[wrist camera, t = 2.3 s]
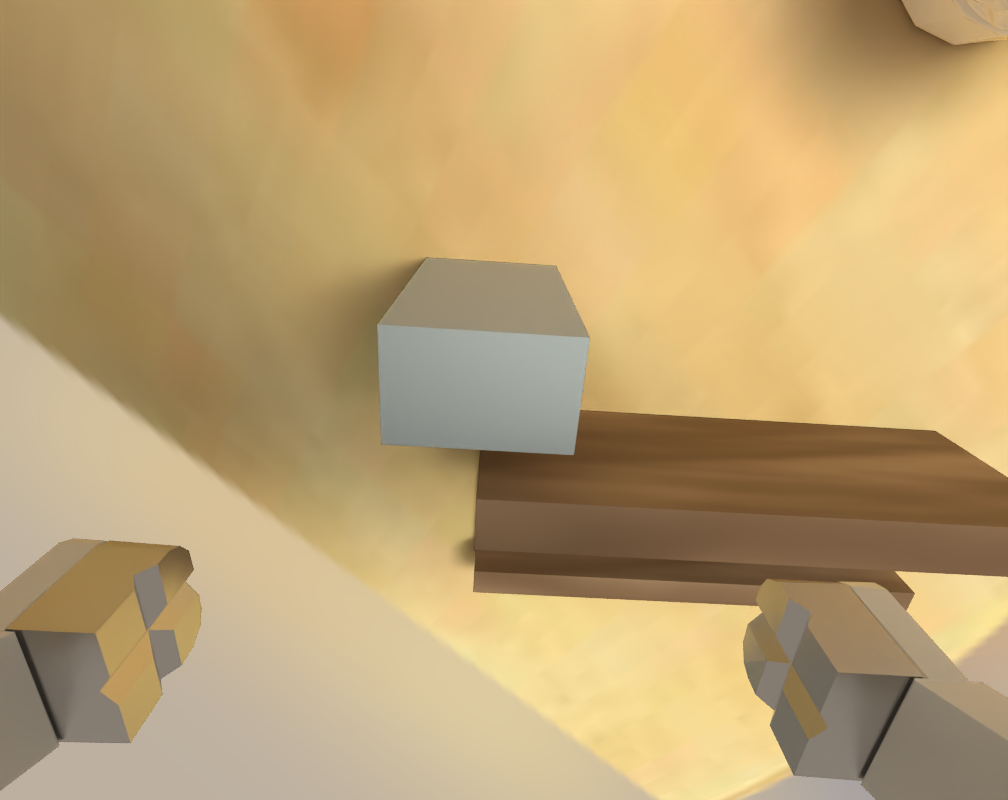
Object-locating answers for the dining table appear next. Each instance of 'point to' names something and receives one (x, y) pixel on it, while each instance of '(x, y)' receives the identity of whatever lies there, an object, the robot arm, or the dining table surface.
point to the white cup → (961, 19)
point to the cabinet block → (482, 359)
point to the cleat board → (733, 510)
